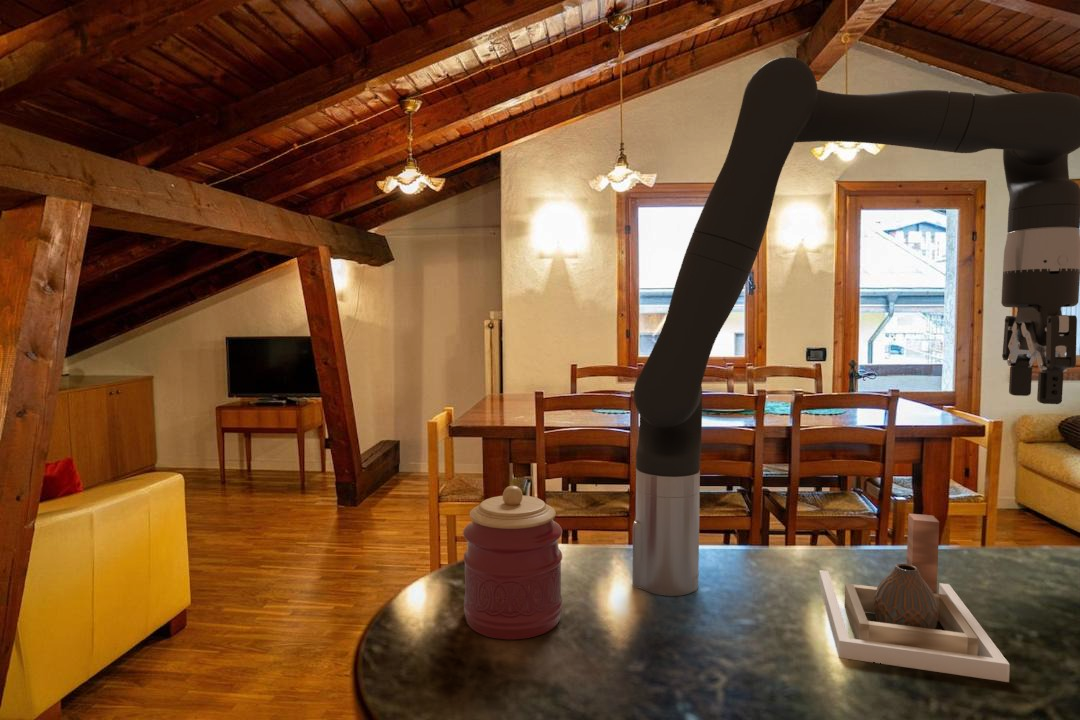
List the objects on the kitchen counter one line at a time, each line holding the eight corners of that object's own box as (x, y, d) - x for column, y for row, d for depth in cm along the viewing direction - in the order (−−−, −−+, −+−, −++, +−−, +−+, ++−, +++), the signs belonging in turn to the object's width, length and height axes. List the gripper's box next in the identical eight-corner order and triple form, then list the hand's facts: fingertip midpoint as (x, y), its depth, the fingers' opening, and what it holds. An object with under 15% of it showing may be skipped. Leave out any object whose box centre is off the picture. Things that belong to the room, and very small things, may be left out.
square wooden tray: (859, 649, 76) (861, 550, 75) (838, 590, 92) (841, 508, 92) (977, 666, 72) (981, 561, 71) (934, 601, 89) (937, 515, 88)
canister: (443, 619, 84) (441, 487, 83) (513, 588, 94) (512, 469, 93) (512, 653, 76) (512, 506, 75) (582, 616, 85) (582, 485, 84)
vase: (946, 653, 76) (949, 580, 75) (883, 647, 77) (885, 576, 76) (924, 625, 82) (926, 558, 82) (866, 620, 84) (868, 555, 83)
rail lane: (839, 657, 75) (839, 640, 74) (819, 583, 95) (819, 570, 95) (1008, 682, 69) (1009, 664, 69) (948, 598, 90) (949, 584, 90)
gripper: (984, 273, 87) (978, 392, 88) (1029, 264, 73) (1021, 405, 74) (1050, 272, 85) (1044, 394, 86) (1109, 262, 71) (1100, 408, 72)
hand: (1033, 399), depth 80 cm, fingers open, 8 cm apart
